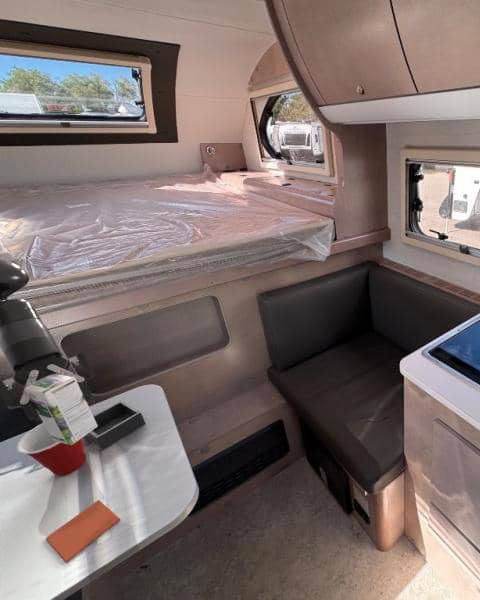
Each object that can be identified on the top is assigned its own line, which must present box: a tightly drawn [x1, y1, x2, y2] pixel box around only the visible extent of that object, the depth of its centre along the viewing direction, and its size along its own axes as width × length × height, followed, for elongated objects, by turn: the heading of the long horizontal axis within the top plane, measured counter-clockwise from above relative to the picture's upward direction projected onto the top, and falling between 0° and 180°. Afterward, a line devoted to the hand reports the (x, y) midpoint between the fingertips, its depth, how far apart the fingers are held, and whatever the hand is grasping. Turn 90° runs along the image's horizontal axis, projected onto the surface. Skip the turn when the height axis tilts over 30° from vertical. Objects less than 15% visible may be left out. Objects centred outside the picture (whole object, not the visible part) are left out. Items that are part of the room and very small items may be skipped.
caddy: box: [84, 400, 146, 451], centre depth 91 cm, size 10×10×4 cm
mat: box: [45, 499, 121, 563], centre depth 68 cm, size 9×9×1 cm
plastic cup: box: [16, 422, 87, 477], centre depth 79 cm, size 11×11×12 cm
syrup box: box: [24, 373, 98, 445], centre depth 70 cm, size 6×6×14 cm
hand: (64, 408), depth 69 cm, fingers closed on syrup box, 7 cm apart
